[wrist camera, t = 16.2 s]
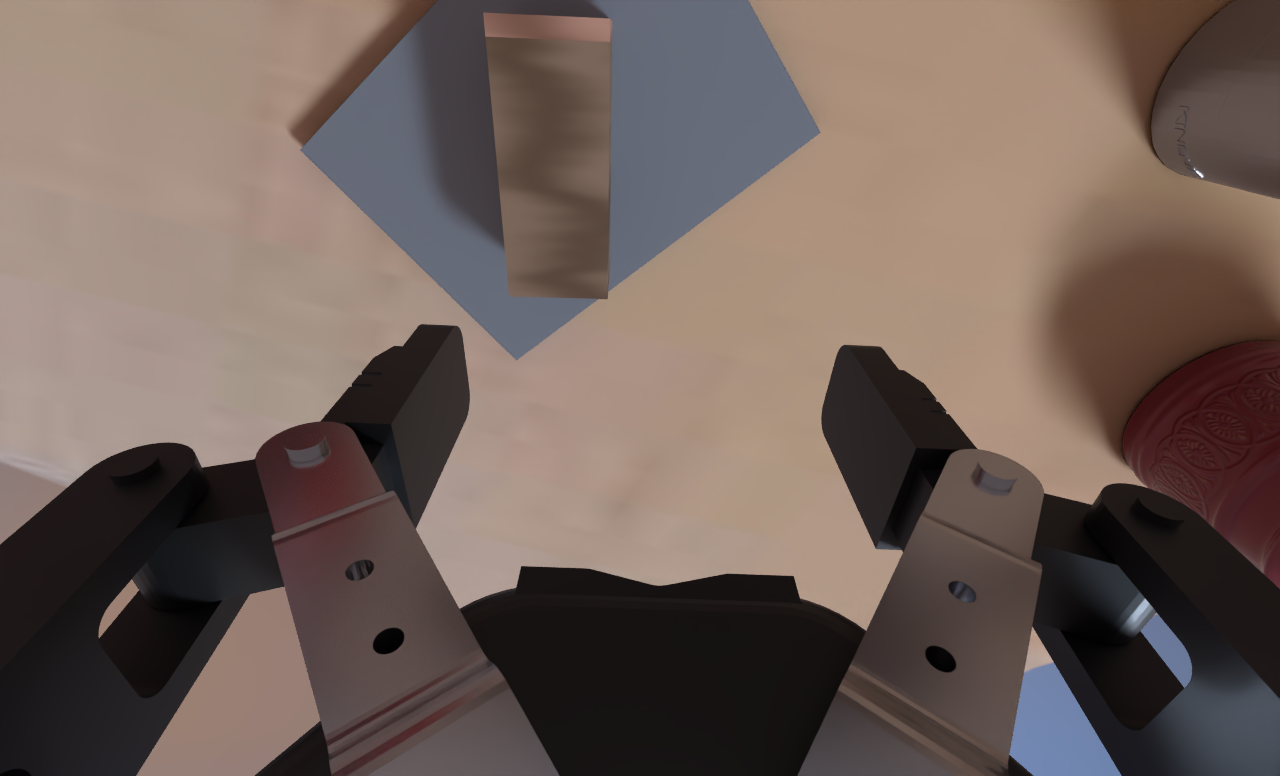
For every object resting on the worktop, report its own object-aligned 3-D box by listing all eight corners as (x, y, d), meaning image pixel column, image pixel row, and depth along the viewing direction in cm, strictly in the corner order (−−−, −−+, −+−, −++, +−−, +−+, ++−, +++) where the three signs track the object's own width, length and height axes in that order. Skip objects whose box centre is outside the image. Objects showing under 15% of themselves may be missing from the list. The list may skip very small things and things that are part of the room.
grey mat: (632, -203, 23) (632, -212, 22) (814, 129, 30) (820, 132, 29) (309, 146, 30) (300, 149, 29) (518, 352, 37) (516, 360, 36)
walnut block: (609, 265, 33) (612, 21, 27) (607, 299, 29) (609, 18, 22) (524, 262, 33) (505, 16, 26) (509, 296, 28) (483, 12, 22)
